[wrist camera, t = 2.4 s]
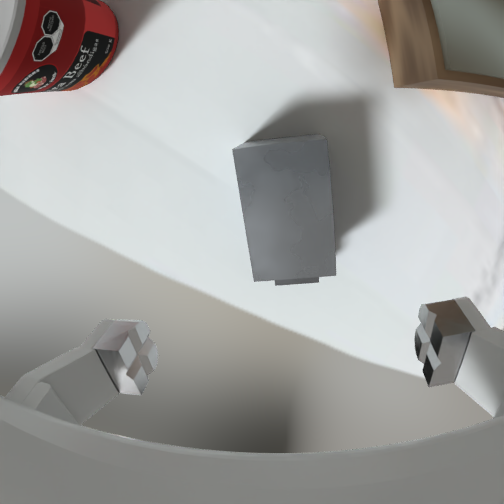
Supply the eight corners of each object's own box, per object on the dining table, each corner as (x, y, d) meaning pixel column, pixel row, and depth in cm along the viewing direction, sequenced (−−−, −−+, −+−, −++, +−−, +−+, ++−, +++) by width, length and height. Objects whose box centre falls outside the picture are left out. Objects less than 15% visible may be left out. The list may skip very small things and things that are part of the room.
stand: (360, -57, 12) (382, -111, 5) (492, -29, 10) (541, -54, 3) (394, 87, 17) (443, 78, 10) (522, 101, 15) (585, 109, 8)
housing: (245, 142, 20) (232, 149, 16) (320, 133, 19) (326, 138, 15) (264, 270, 24) (257, 303, 20) (330, 265, 23) (336, 297, 19)
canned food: (61, 107, 20) (-45, 125, 10) (42, 35, 17) (-54, 29, 7) (134, 60, 18) (26, 41, 8) (109, -15, 15) (15, -54, 6)
